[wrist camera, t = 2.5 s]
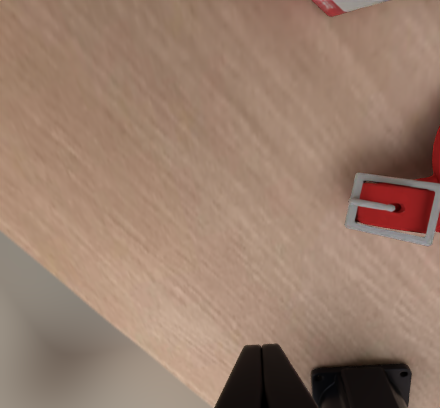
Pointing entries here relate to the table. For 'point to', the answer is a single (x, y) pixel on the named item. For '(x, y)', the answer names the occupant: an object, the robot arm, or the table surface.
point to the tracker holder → (397, 204)
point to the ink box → (344, 5)
